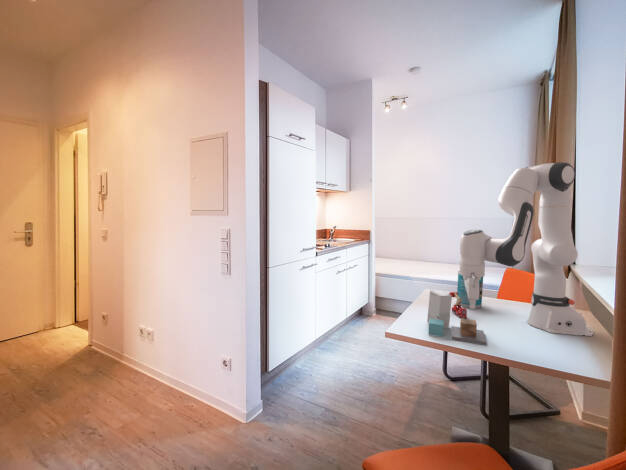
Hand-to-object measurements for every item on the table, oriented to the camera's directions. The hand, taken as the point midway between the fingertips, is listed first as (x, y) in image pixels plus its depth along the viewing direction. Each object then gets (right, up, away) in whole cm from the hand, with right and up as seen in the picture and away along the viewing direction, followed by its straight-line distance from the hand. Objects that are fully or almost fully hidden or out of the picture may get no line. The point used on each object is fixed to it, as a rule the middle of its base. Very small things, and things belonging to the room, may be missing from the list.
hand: (471, 304), depth 123 cm
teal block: (-13, -13, +4) cm, 18 cm away
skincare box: (-8, -12, +14) cm, 20 cm away
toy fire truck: (+8, -11, +28) cm, 31 cm away
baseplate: (-1, -13, +1) cm, 13 cm away
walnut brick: (-1, -12, +1) cm, 12 cm away
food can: (+20, -10, +42) cm, 48 cm away
